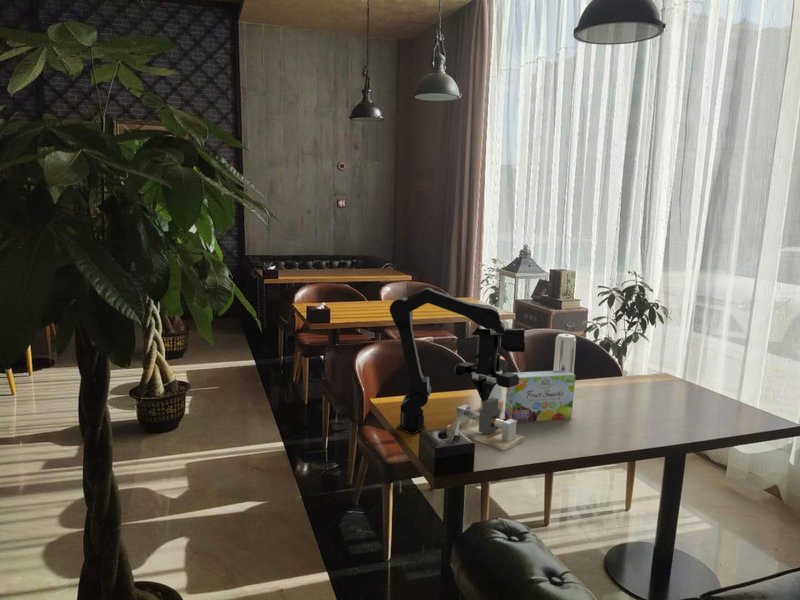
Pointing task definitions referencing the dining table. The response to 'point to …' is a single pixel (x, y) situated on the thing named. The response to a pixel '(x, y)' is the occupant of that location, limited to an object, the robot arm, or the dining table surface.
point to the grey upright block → (488, 415)
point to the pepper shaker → (497, 393)
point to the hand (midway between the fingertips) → (484, 402)
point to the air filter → (565, 352)
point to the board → (488, 436)
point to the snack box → (541, 396)
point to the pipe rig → (507, 426)
